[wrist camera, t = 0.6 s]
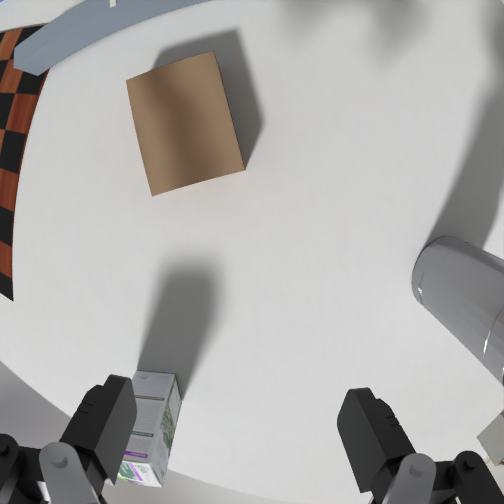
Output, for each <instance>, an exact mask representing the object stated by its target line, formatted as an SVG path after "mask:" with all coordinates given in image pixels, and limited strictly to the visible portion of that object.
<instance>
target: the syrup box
mask: <svg viewBox="0 0 504 504" xmlns="http://www.w3.org/2000/svg"><path fill="white" fill-rule="evenodd" d="M132 385H133V390H134V395H135V400H136V404H137V418H136V422H135V424H134V427H133V430H132V433H131V436H130V439H129V442H128V445H127V448H126V451H125V454H124V457H123V460H122V463H121V466H120V469H119V472H118V475H117V478H118V479H121V480H124V481H128V482H131V483H135V484H140V485H146V486H155V487H162V486H163V483H164V479H165V474H166V469H167V465H168V460H169V456H170V451H171V446H172V442H173V438H174V433H175V429H176V425H177V421H178V416H179V412H180V408H181V404H182V402H181V398H180V394H179V390H178V385H177V381H176V376H175V374H168V373H158V372H146V371H136V372H135V374H134V376H133V378H132Z"/></svg>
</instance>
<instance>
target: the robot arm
mask: <svg viewBox="0 0 504 504" xmlns="http://www.w3.org/2000/svg"><path fill="white" fill-rule="evenodd" d="M412 289H413V293H414V296H415V298H416V299H417V301H418V302H419V303H420V304H421V305H422V306H424V307H425V308H426V309H427V310H428V311H429V312H430V313H431V314H432V315H433V316H434V317H435V318H436V319H437V320H438V321H439V322H440V323H441V324H443V325H444V326H445V327H446V328H447V329H448V330H449V331H450V332H451V333H452V334H453V335H454V336H455V337H456V338H457V339H458V340H459V341H460V342H461V343H462V344H463V345H464V346H465V347H466V348H467V349H468V350H469V351H470V352H471V353H472V354H473V355H474V356H475V357H476V358H477V359H478V360H479V361H480V362H481V363H482V364H483V365H484V366H485V367H486V368H487V369H488V370H489V371H490V372H491V373H492V375H493V376H494V377H495V378H496V379H497V380H498V381H499V382H500V383H501V384H502V385H503V386H504V260H503V259H501V258H499V257H497V256H495V255H493V254H491V253H489V252H486V251H484V250H482V249H480V248H478V247H476V246H473V245H471V244H469V243H467V242H465V243H464V242H461V241H459V240H457V239H454V238H452V237H442V238H438V239H437V240H435V241H433V242H432V243H430V244H429V245H428V246H427V247H426V248H425V249H424V251H423V252H422V253H421V255H420V257H419V258H418V260H417V263H416V265H415V268H414V271H413V276H412ZM81 402H82V403H80V405H79V407H78V408H77V411H76V412H75V414H74V415H73V417H72V419H71V421H70V422H69V424H68V426H67V428H66V430H65V432H64V434H63V435H62V438H61V439H60V440H59V442H52V443H49V444H47V445H46V446H44V447H43V448H42V449H35V448H28V447H22V446H19V445H18V443H17V442H16V441H15V439H14V438H13V437H11V436H9V435H7V434H0V504H48V502H49V501H51V503H52V504H108V503H107V501H106V499H105V497H104V495H103V493H102V489H103V486H104V483H105V484H108V485H112V486H114V485H115V482H116V479H117V475H118V472H119V469H120V466H121V463H122V460H123V457H124V454H125V451H126V448H127V445H128V442H129V439H130V436H131V433H132V430H133V427H134V424H135V422H136V418H137V404H136V400H135V395H134V390H133V385H132V381H131V379H130V378H128V377H123V376H117V375H113V374H111V375H109V377H108V378H107V380H106V382H105V384H104V385H103V386H101V385H96V386H94V387H93V388H92V389H90V390H89V391H88V392H87V393H86V395H85V396H84V398H83V400H82V401H81ZM337 427H338V431H339V434H340V437H341V439H342V442H343V445H344V448H345V451H346V453H347V456H348V459H349V462H350V465H351V467H352V470H353V473H354V476H355V479H356V482H357V485H358V487H359V490H360V493H364V492H368V491H371V492H372V494H373V496H372V497H371V499H370V501H369V503H368V504H457V502H456V500H455V498H456V497H458V498H459V500H460V502H461V504H504V496H503V494H502V492H501V490H500V488H499V487H498V485H497V483H496V481H495V480H494V478H493V476H492V474H491V473H490V471H489V469H488V468H487V466H486V464H485V462H484V461H483V459H482V458H481V456H480V455H479V454H477V453H475V452H473V451H463V452H461V453H459V454H458V455H457V457H456V458H455V459H454V460H453V461H441V462H434V461H433V460H432V459H431V458H430V457H429V456H427V455H425V454H421V453H416V451H415V450H414V448H413V446H412V444H411V442H410V441H409V439H408V437H407V435H406V434H405V432H404V430H403V428H402V427H401V425H399V421H398V420H397V418H395V415H394V413H393V411H392V409H391V408H390V406H389V405H388V404H386V403H385V402H384V401H383V400H381V399H376V398H375V396H374V395H373V393H372V391H371V390H370V388H368V387H367V388H357V389H350V390H348V392H347V394H346V397H345V399H344V402H343V405H342V407H341V410H340V412H339V415H338V418H337Z"/></svg>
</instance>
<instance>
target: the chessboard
mask: <svg viewBox="0 0 504 504" xmlns="http://www.w3.org/2000/svg"><path fill="white" fill-rule="evenodd" d="M44 26H45V25H43V26H35V27H29V28H23V29H17V30H12V31H7V32H3V33H0V293H1V294H3V295H4V296H6V297H7V298H9V299H10V300H12V301H13V282H12V244H13V226H14V214H15V204H16V196H17V188H18V182H19V175H20V170H21V164H22V159H23V154H24V150H25V145H26V141H27V137H28V133H29V129H30V125H31V122H32V118H33V115H34V112H35V108H36V105H37V102H38V99H39V96H40V93H41V90H42V87H43V85H44V82H45V79H46V77H47V74H48V72H49V69H50V68H49V69H48V70H46V71H45V72H43V73H42V74H40V75H39V76H37V75H34V74H31V73H28V72H25V71H22V70H19V69H16V68H14V48H15V47H17V46H18V45H19V44H20V43H22V42H23V41H24V40H26V39H27V38H28V37H30V36H31V35H32V34H34V33H35V32H36V31H38V30H39V29H41V28H42V27H44ZM13 302H14V301H13Z"/></svg>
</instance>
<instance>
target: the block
mask: <svg viewBox="0 0 504 504" xmlns="http://www.w3.org/2000/svg"><path fill="white" fill-rule="evenodd" d="M126 84H127V89H128V95H129V100H130V105H131V110H132V115H133V120H134V124H135V129H136V134H137V138H138V142H139V147H140V151H141V155H142V159H143V163H144V167H145V171H146V175H147V179H148V183H149V187H150V190H151V194H152V196H154V195H157V194H161V193H164V192H167V191H171V190H174V189H177V188H181V187H184V186H187V185H191V184H194V183H198V182H202V181H205V180H209V179H213V178H216V177H220V176H224V175H228V174H232V173H236V172H240V171H244V170H245V167H244V163H243V159H242V155H241V151H240V148H239V144H238V140H237V136H236V132H235V128H234V124H233V120H232V116H231V112H230V108H229V105H228V101H227V97H226V93H225V89H224V85H223V82H222V78H221V74H220V70H219V66H218V63H217V60H216V57H215V54H214V51H211V52H207V53H203V54H200V55H196V56H193V57H189V58H186V59H183V60H180V61H177V62H174V63H171V64H168V65H165V66H162V67H159V68H156V69H154V70H151V71H148V72H146V73H143V74H141V75H138V76H136V77H133V78H131V79H129V80H126Z"/></svg>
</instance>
